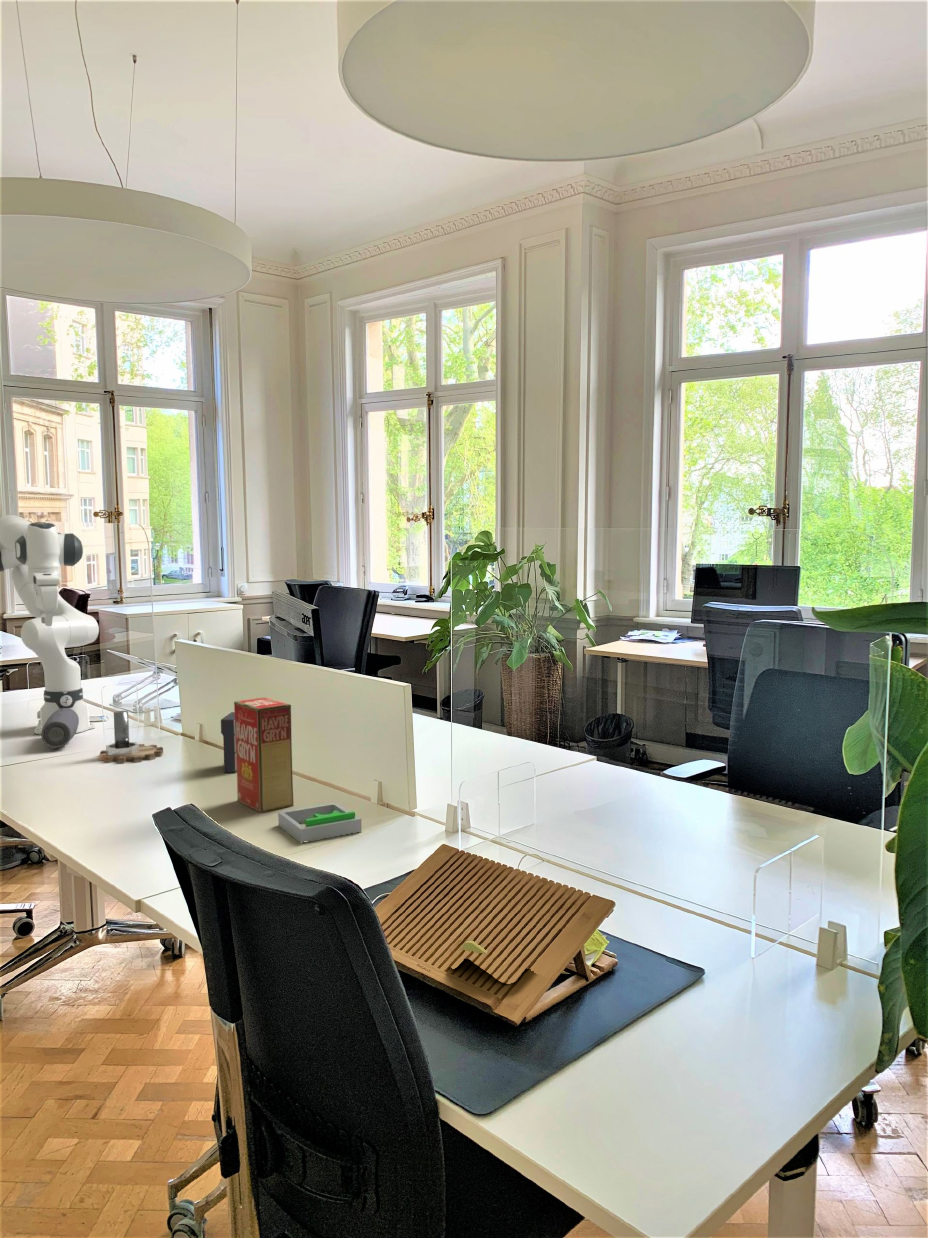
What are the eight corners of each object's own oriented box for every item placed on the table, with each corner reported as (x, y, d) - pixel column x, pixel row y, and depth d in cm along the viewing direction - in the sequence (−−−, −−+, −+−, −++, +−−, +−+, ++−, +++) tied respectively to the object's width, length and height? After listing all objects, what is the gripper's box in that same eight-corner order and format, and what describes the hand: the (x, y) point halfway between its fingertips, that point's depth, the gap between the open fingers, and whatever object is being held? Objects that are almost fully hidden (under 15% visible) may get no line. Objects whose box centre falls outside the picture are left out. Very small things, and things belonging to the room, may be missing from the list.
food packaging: (234, 800, 220) (232, 700, 218) (269, 793, 227) (267, 696, 224) (260, 813, 210) (257, 708, 208) (295, 805, 216) (293, 703, 214)
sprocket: (94, 753, 269) (94, 742, 269) (155, 746, 278) (155, 735, 278) (105, 766, 254) (104, 754, 254) (169, 758, 263) (169, 746, 263)
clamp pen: (278, 825, 202) (278, 812, 201) (336, 815, 209) (336, 802, 209) (301, 843, 190) (301, 829, 189) (361, 832, 197) (361, 818, 197)
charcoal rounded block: (237, 773, 246) (236, 719, 245) (221, 773, 247) (220, 719, 245) (247, 763, 257) (246, 711, 256) (232, 763, 257) (231, 711, 256)
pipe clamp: (348, 828, 200) (348, 808, 200) (355, 832, 197) (355, 812, 197) (301, 836, 195) (300, 815, 194) (307, 841, 191) (307, 820, 191)
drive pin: (114, 751, 265) (112, 711, 264) (128, 749, 267) (126, 710, 266) (116, 754, 262) (115, 713, 261) (130, 752, 264) (129, 712, 263)
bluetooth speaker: (50, 737, 291) (48, 707, 291) (81, 735, 294) (79, 705, 293) (39, 753, 270) (38, 720, 269) (73, 751, 273) (71, 718, 272)
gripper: (29, 576, 270) (31, 622, 271) (36, 579, 253) (39, 628, 254) (51, 576, 273) (53, 621, 275) (61, 578, 256) (63, 626, 257)
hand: (46, 624), depth 264 cm, fingers open, 8 cm apart
